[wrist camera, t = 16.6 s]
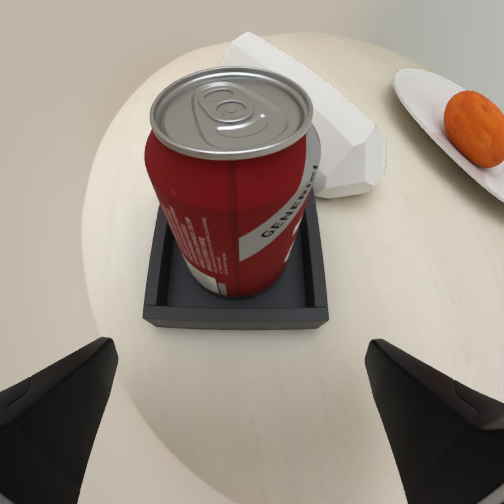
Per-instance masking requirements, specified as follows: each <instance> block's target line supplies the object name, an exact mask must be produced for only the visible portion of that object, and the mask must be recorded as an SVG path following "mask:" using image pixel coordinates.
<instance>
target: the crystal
mask: <svg viewBox="0 0 504 504" xmlns="http://www.w3.org/2000/svg"><path fill="white" fill-rule="evenodd" d="M225 66H246V67H255V68H261V69H265V70H269V71H272V72H275V73H278V74H281V75H283V76H285V77H287V78H289V79H291V80H292V81H294V82H295V83H297V84H298V85H299V86H301V87H302V88H303V89H304V90H305V91H306V93H307V94H308V95H309V97H310V99H311V101H312V104H313V118H312V124H313V125H314V127H315V129H316V131H317V133H318V136H319V139H320V144H321V158H320V163H319V166H318V170H317V173H316V176H315V179H314V182H313V191H314V196H317V197H323V198H329V199H331V198H338V197H344V196H350V195H357V194H364V193H367V192H369V191H370V190H371V189H372V188H373V187H375V186H376V184H377V183H378V182H379V181H380V179H381V178H382V177H383V176H384V175H385V169H386V137H385V136H384V134H383V133H382V132H381V131H380V130H379V128H378V127H377V126H376V125H375V124H374V123H373V122H372V121H371V120H370V119H369V118H368V117H367V116H365V115H364V114H363V113H362V112H361V111H360V110H359V109H358V108H357V107H355V106H354V105H353V104H352V103H351V102H350V101H348V100H347V99H346V98H345V97H344V96H342V95H341V94H340V93H339V92H338V91H336V90H335V89H334V88H333V87H331V86H330V85H329V84H328V83H326V82H325V81H324V80H322V79H321V78H320V77H318V76H317V75H316V74H314V73H313V72H312V71H310V70H309V69H308V68H306V67H305V66H303V65H302V64H300V63H299V62H298V61H296V60H295V59H293V58H292V57H290V56H289V55H287V54H286V53H284V52H282V51H281V50H279V49H278V48H276V47H275V46H273V45H271V44H270V43H268V42H266V41H265V40H263V39H261V38H260V37H258V36H256V35H254V34H253V33H251V32H249V31H247V32H246V33H244V34H243V35H241V36H240V37H238V38H237V39H235V40H233V41H232V42H231V43H230V45H229V47H228V49H227V50H226V52H225V54H224V56H223V57H222V59H221V61H220V63H219V67H225Z"/></svg>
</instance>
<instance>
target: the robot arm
mask: <svg viewBox="0 0 504 504" xmlns="http://www.w3.org/2000/svg"><path fill="white" fill-rule="evenodd" d="M117 364H118V354H117V351H116V348H115V345H114V342H113V340H112V339H111V338H107V337H100V338H99V339H97V340H95V341H93V342H91V343H90V344H88V345H86V346H84V347H82V348H81V349H79V350H77V351H75V352H73V353H72V354H70V355H68V356H66V357H65V358H63V359H61V360H59V361H57V362H55V363H54V364H52V365H50V366H48V367H46V368H45V369H43V370H41V371H40V372H38V373H36V374H34V375H32V376H31V377H28V378H27V379H25V380H23V381H21V382H19V383H18V384H16V385H14V386H12V387H9V388H8V389H5V390H3V391H1V392H0V504H77V502H78V498H79V494H80V489H81V485H82V481H83V478H84V474H85V470H86V467H87V463H88V460H89V456H90V453H91V450H92V446H93V443H94V440H95V437H96V434H97V430H98V428H99V425H100V422H101V419H102V416H103V413H104V410H105V407H106V405H107V402H108V398H109V396H110V392H111V388H112V384H113V380H114V376H115V372H116V368H117ZM365 366H366V369H367V373H368V377H369V381H370V385H371V389H372V393H373V397H374V400H375V403H376V406H377V408H378V411H379V414H380V417H381V420H382V422H383V425H384V428H385V431H386V434H387V437H388V440H389V443H390V446H391V449H392V452H393V455H394V458H395V461H396V464H397V467H398V471H399V474H400V477H401V480H402V484H403V487H404V491H405V495H406V498H407V502H408V504H504V403H502V402H500V401H497V400H495V399H493V398H490V397H488V396H486V395H483V394H481V393H479V392H477V391H475V390H473V389H471V388H469V387H467V386H465V385H463V384H461V383H459V382H458V381H456V380H453V379H452V378H450V377H449V376H447V375H445V374H443V373H441V372H440V371H438V370H436V369H434V368H433V367H431V366H429V365H427V364H425V363H424V362H422V361H420V360H418V359H417V358H415V357H413V356H411V355H410V354H408V353H406V352H404V351H403V350H401V349H399V348H397V347H395V346H394V345H392V344H390V343H388V342H387V341H385V340H383V339H373V340H371V341H370V343H369V346H368V349H367V353H366V356H365Z"/></svg>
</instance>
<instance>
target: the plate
mask: <svg viewBox="0 0 504 504" xmlns="http://www.w3.org/2000/svg"><path fill="white" fill-rule="evenodd" d="M393 86H394V89H395V92H396V94H397V95H398V97H399V99H400V101H401V102H402V104H403V105H404V106H405V108H406V109H407V111H408V112H409V113H410V114H411V116H412V117H413V118H414V119H415V120H416V121H417V123H418V124H419V125H420V126H421V127H422V128H423V129H424V130H425V132H426V133H427V134H428V135H429V136H430V137H431V138H432V139H433V140H434V141H435V142H436V143H437V144H438V145H439V146H440V147H441V148H442V149H443V150H444V151H445V152H446V153H447V154H448V155H449V156H450V157H451V158H452V159H453V160H454V161H455V162H456V163H457V164H458V165H459V166H460V167H461V168H462V169H464V170H465V171H466V172H467V173H468V174H469V175H470V176H471V177H472V178H473V179H475V180H476V181H477V182H478V183H479V184H480V185H482V186H483V187H484V188H485V189H486V190H488V191H489V192H490V193H491V194H492V195H494V196H495V197H496V198H498V199H499V200H500V201H502V202H503V203H504V115H503V114H502V112H501V111H500V110H499V109H498V107H497V106H496V105H495V104H493V103H492V102H491V101H490V100H489V99H487V98H486V97H484V96H483V95H481V94H479V93H477V92H474V91H466V90H465V89H463V88H462V87H460V86H458V85H457V84H455V83H453V82H451V81H449V80H448V79H445V78H443V77H441V76H439V75H436V74H434V73H431V72H428V71H424V70H420V69H414V68H406V69H401V70H399V71H398V72H397V73H396V74H395V75H394V77H393Z"/></svg>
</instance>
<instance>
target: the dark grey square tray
mask: <svg viewBox="0 0 504 504" xmlns="http://www.w3.org/2000/svg"><path fill="white" fill-rule="evenodd" d="M327 306H328V304H327V292H326V282H325V273H324V264H323V255H322V247H321V239H320V232H319V224H318V217H317V211H316V204H315V198H314V191H313V185H312V189H311V192H310V195H309V198H308V201H307V204H306V207H305V210H304V213H303V216H302V219H301V222H300V225H299V228H298V231H297V234H296V237H295V240H294V243H293V246H292V249H291V251H290V254H289V257H288V260H287V263H286V266H285V268H284V270H283V272H282V274H281V276H280V277H279V278H278V280H277V281H276V282H275V283H274V284H273V285H272V286H270V287H269V288H268V289H266V290H265V291H263V292H261V293H259V294H256V295H253V296H250V297H245V298H228V297H223V296H219V295H216V294H214V293H212V292H210V291H208V290H207V289H205V288H204V287H203V286H201V285H200V284H199V283H198V282H197V281H196V279H195V278H194V277H193V275H192V274H191V272H190V270H189V268H188V266H187V263H186V261H185V259H184V257H183V255H182V253H181V250H180V248H179V246H178V244H177V242H176V239H175V237H174V235H173V233H172V230H171V228H170V226H169V223H168V221H167V219H166V216H165V214H164V212H163V209H162V207H161V205H159V210H158V215H157V220H156V226H155V231H154V237H153V243H152V249H151V255H150V262H149V268H148V275H147V283H146V291H145V300H144V308H143V319H145V320H146V321H148V322H150V323H151V324H153V325H154V326H156V327H170V328H189V329H217V330H287V329H315V328H319V327H320V326H321V325H323V324H324V323H326V322H327V321H328V320H329V314H328V307H327Z"/></svg>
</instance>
